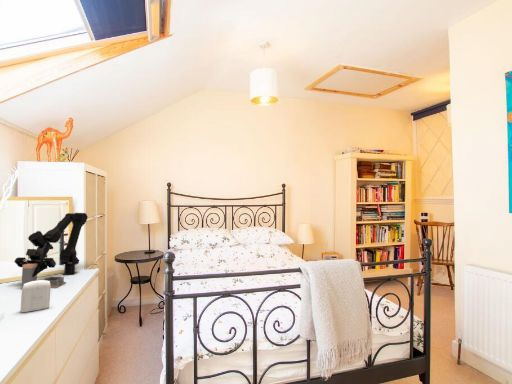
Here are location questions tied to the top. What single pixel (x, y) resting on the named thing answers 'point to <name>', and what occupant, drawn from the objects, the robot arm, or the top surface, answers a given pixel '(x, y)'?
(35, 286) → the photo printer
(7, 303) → the top surface
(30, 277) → the connector
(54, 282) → the holder
